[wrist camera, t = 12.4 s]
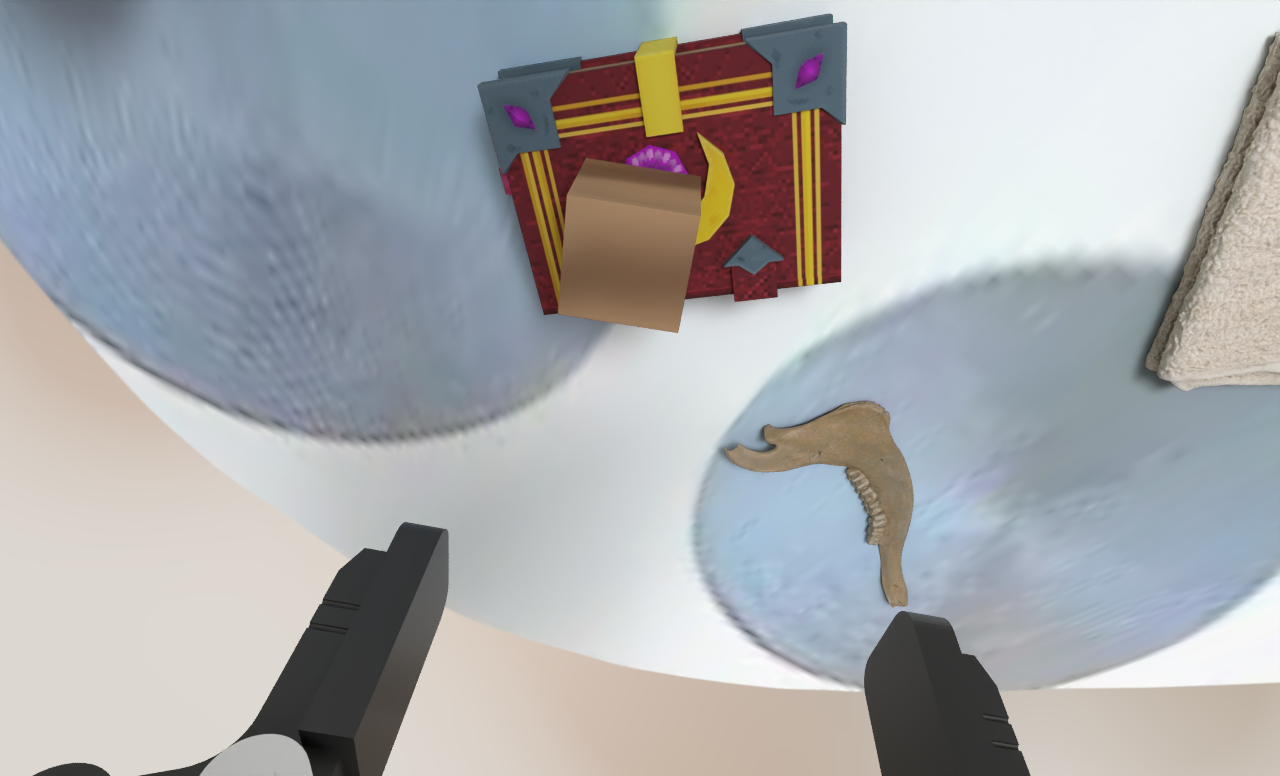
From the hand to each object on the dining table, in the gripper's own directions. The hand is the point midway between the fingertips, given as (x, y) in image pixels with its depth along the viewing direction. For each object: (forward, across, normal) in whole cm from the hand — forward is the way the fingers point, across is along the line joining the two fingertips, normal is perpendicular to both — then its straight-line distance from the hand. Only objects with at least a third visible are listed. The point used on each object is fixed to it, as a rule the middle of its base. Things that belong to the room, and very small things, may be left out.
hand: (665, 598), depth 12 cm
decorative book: (+27, +1, +1) cm, 27 cm away
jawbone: (+26, -14, +22) cm, 37 cm away
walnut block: (+21, +2, +2) cm, 22 cm away
